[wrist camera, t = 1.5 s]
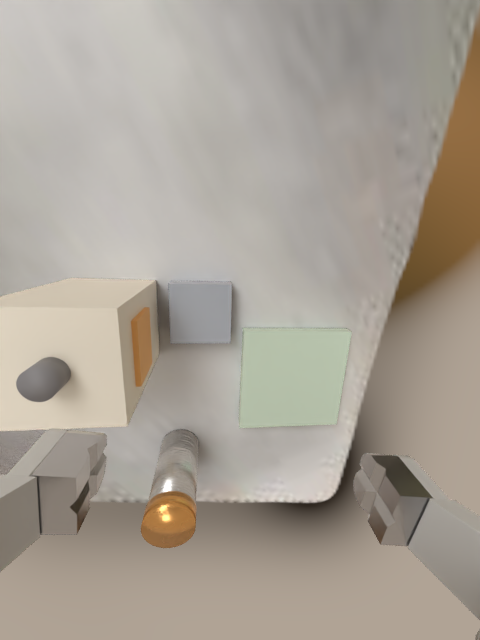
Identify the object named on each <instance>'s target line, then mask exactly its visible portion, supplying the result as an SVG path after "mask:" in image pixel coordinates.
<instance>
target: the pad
mask: <svg viewBox="0 0 480 640" xmlns="http://www.w3.org/2000/svg"><path fill="white" fill-rule="evenodd" d="M351 333H352V332H351V331H350V330H348V329H347V328H243V335H242V356H241V378H240V399H239V421H238V422H239V428H256V427H281V426H306V425H332V424H337V418H338V412H339V406H340V400H341V394H342V388H343V382H344V376H345V370H346V364H347V357H348V351H349V345H350V339H351Z"/></svg>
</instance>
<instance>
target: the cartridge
mask: <svg viewBox="0 0 480 640" xmlns="http://www.w3.org/2000/svg"><path fill="white" fill-rule="evenodd" d="M198 448H199V442H198V439H197V437H196V436H195V434H193V433H192V432H190V431H188V430H183V429H179V430H174V431H171V432H170V433H168V434H167V435H166V436H165V437H164V439H163V441H162V445H161V450H160V454H159V458H158V462H157V467H156V471H155V475H154V479H153V484H152V488H151V492H150V496H149V501H148V504H147V505H146V509H145V513H144V517H143V521H142V525H141V533H142V536H143V538H144V539H145V540H146V541H147V542H148V543H150V544H151V545H153V546H156V547H161V548H171V547H176V546H179V545H182V544H184V543H185V542H187V541H188V540H189V539H190V538H191V537H192V536H193V534H194V532H195V526H196V486H197V467H198Z"/></svg>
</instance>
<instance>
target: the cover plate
mask: <svg viewBox="0 0 480 640" xmlns="http://www.w3.org/2000/svg"><path fill="white" fill-rule="evenodd" d="M168 290H169V316H170V342H171V344H193V343H231V307H232V284H231V282H220V281H170V282H169V283H168Z"/></svg>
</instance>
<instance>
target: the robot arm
mask: <svg viewBox="0 0 480 640" xmlns="http://www.w3.org/2000/svg"><path fill="white" fill-rule="evenodd" d="M106 445H107V435H106V434H105V433H96V432H86V431H76V430H63V429H53V428H51V429H49V430H47V431H46V432H45V433H44V434H43V435H42V436H41V437H40V438H39V439H38V440H37V441H36V443H35V444H34V445H33V446H32V447H31V448H30V449H29V450H28V451H27V452H26V454H25V455H24V456H23V457H22V458H21V459H20V460H19V461H18V462H17V463H16V465H15V466H14V467H13V468H12V469H11V470H10V471H9V472H8V473H7V474H6V475H0V572H1V571H2V570H3V569H4V568H5V567H6V566H8V565H9V564H10V563H11V562H12V561H13V560H14V559H16V558H17V557H18V556H19V555H20V554H21V553H22V552H23V551H25V550H26V549H27V548H28V547H29V546H30V545H32V544H33V543H34V542H35V541H36V540H37V539H38V538H39V537H40V535H43V534H45V535H48V534H49V535H53V534H54V535H55V534H56V535H66V534H67V535H77V533H78V531H79V530H80V527H81V525H82V523H83V521H84V519H85V517H86V515H87V513H88V511H89V505H90V498H92V497H93V496H94V495H96V494H97V492H98V490H99V488H100V486H101V483H102V480H103V477H104V474H105V468H106V456H105V455H104V453H103V451H104V449H105V447H106ZM360 465H361V467H362V469H361V470H360V471H358V472H357V473H356V475H355V478H354V482H353V484H354V493H355V497H356V499H357V502H358V504H359V505H360V507H361V508H362V509H363V510H365V511H366V512H367V513H368V514H369V515H368V522H369V524H370V526H371V528H372V530H373V532H374V534H375V535H376V537H377V539H378V541H379V543H380V544H381V545H396V546H408V549H409V550H410V551H411V552H412V553H413V554H414V555H415V556H416V557H417V558H418V559H419V560H420V561H421V562H422V563H423V564H424V565H425V566H426V567H427V568H428V569H429V570H430V571H431V572H432V573H433V574H434V575H435V576H436V577H437V578H438V579H439V580H440V581H441V582H442V583H443V584H444V585H445V586H446V587H447V588H448V589H449V590H450V591H451V592H452V593H453V594H454V595H455V596H456V597H457V598H458V599H459V600H460V601H461V602H462V603H463V604H464V605H465V606H466V607H467V608H468V609H469V610H470V611H471V612H472V613H473V614H474V615H475V616H476V617H477V618H478V619H479V620H480V516H479V515H478V514H476V513H475V512H473V511H471V510H470V509H468V508H467V507H465V506H464V505H462V504H460V503H459V502H457V501H456V500H450V499H449V498H448V496H447V495H446V494H445V493H444V492H443V491H442V490H441V488H440V487H439V486H438V485H437V484H436V483H435V482H434V481H433V480H432V479H431V477H430V476H429V475H428V474H427V473H426V472H425V471H424V470H423V469H422V467H421V466H420V465H419V464H418V463H417V462H416V461H415V460H414V459H413V458H412V457H410V456H407V455H385V454H384V455H383V454H370V453H365V454H364V455H363V456H362V458H361V460H360ZM475 640H480V630H479V631H478V633H477V634H476V638H475Z"/></svg>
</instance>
